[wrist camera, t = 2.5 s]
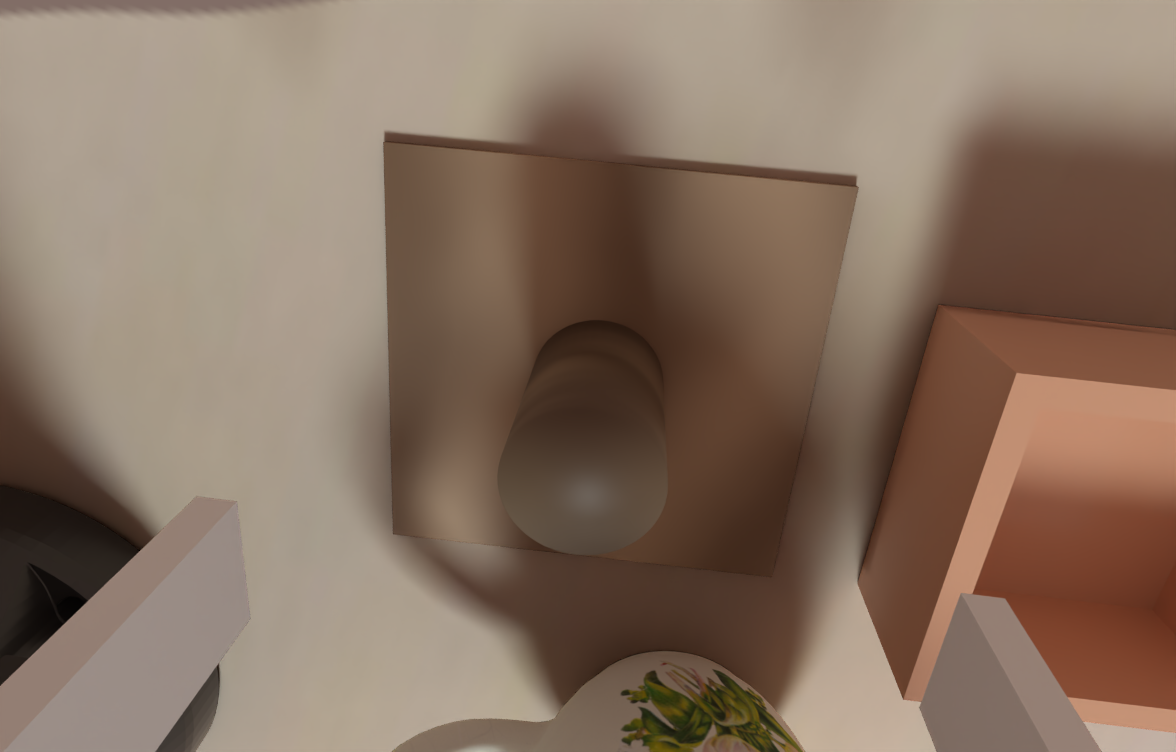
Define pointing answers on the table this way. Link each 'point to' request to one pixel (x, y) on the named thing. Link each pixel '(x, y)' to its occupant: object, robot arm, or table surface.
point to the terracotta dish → (1038, 505)
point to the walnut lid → (603, 352)
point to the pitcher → (634, 715)
